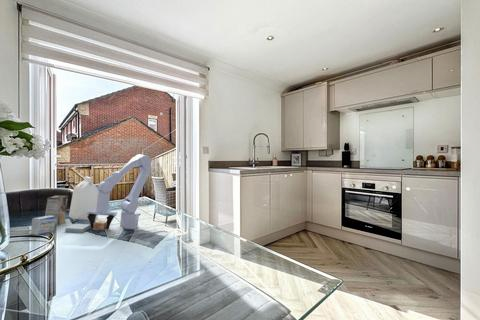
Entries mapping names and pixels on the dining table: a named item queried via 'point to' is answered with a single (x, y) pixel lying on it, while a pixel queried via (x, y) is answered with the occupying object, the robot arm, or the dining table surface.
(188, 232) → the dining table surface
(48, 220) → the medicine box
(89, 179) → the milk
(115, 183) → the robot arm
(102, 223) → the terracotta cube
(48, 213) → the coffee box
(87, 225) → the top block
